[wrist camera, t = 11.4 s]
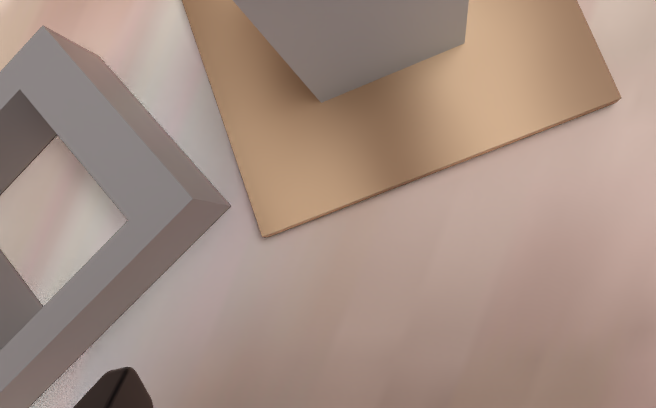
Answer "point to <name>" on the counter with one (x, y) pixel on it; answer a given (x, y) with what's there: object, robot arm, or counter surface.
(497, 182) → the counter surface
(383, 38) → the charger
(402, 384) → the counter surface
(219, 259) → the counter surface
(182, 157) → the power strip
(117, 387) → the robot arm
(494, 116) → the cork pad
